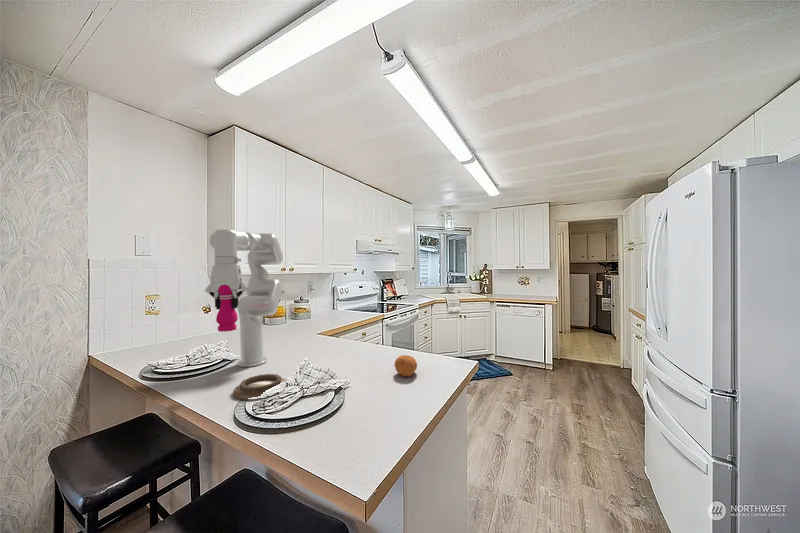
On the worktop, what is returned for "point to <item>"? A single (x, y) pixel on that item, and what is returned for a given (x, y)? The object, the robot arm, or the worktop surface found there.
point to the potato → (405, 365)
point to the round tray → (256, 385)
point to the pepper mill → (226, 310)
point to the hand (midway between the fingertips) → (226, 308)
